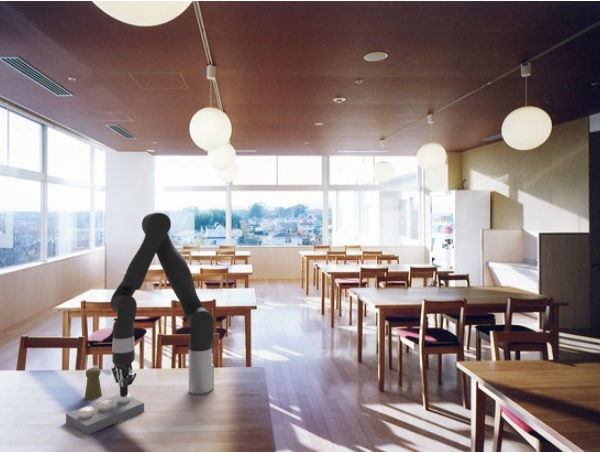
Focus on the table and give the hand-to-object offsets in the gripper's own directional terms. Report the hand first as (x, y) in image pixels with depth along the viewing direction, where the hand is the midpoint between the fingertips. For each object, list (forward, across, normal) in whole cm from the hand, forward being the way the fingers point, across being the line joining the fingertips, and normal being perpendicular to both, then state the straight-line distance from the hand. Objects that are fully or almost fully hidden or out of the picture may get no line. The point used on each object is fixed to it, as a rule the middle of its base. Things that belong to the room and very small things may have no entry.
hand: (123, 395), depth 158 cm
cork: (+5, +20, +1) cm, 21 cm away
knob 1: (+5, 0, +14) cm, 15 cm away
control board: (+5, 0, +7) cm, 9 cm away
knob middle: (+5, 0, +7) cm, 8 cm away
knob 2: (+5, 0, 0) cm, 5 cm away
